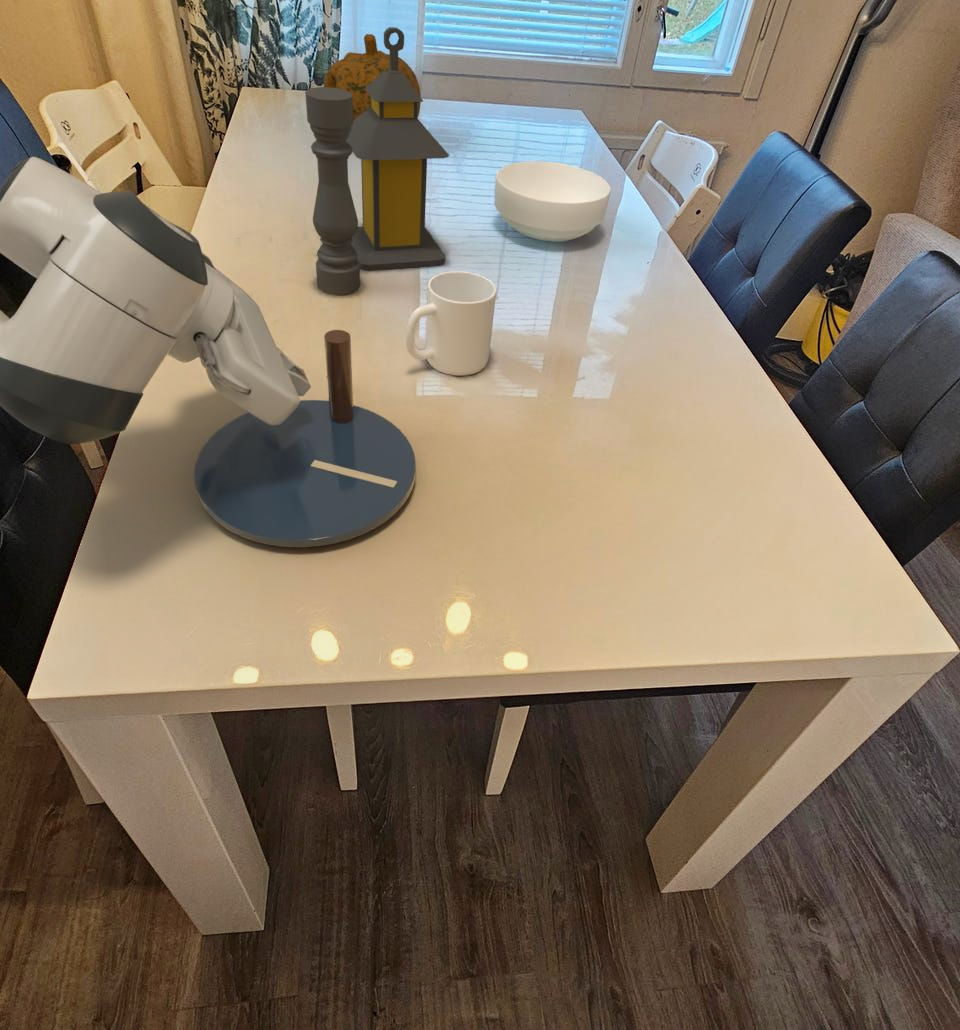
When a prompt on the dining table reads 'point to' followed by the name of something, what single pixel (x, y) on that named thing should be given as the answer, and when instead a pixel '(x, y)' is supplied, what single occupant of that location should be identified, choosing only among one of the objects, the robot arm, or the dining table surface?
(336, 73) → the decorative pumpkin
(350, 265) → the candle holder
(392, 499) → the blue disc with peg
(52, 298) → the robot arm
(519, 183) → the bowl
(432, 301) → the cup
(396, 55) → the lantern
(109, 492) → the dining table surface
